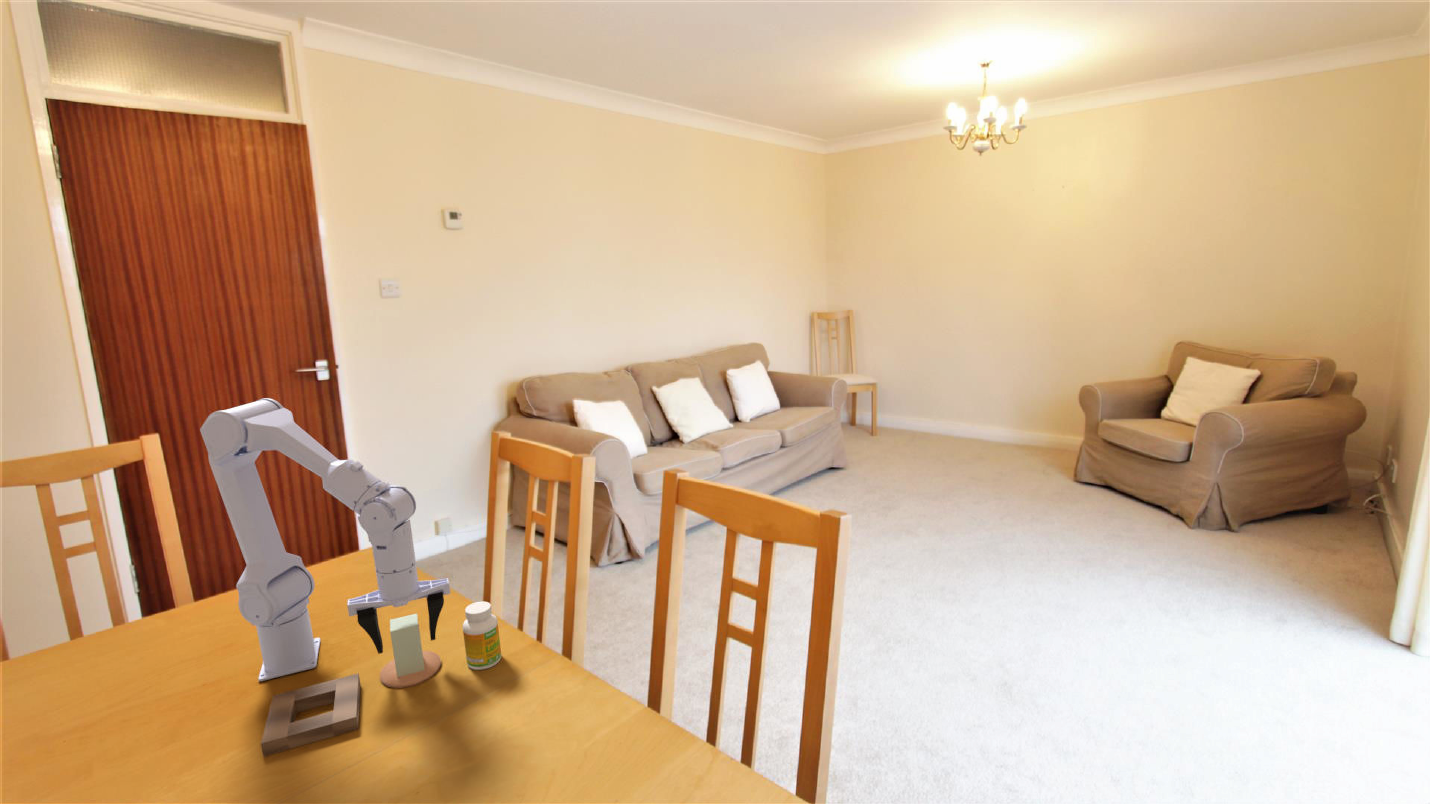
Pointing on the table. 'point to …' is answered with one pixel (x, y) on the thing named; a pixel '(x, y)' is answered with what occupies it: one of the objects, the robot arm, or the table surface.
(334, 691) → the block
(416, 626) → the peg
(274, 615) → the robot arm
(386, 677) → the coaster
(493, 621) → the supplement bottle
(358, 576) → the table surface
